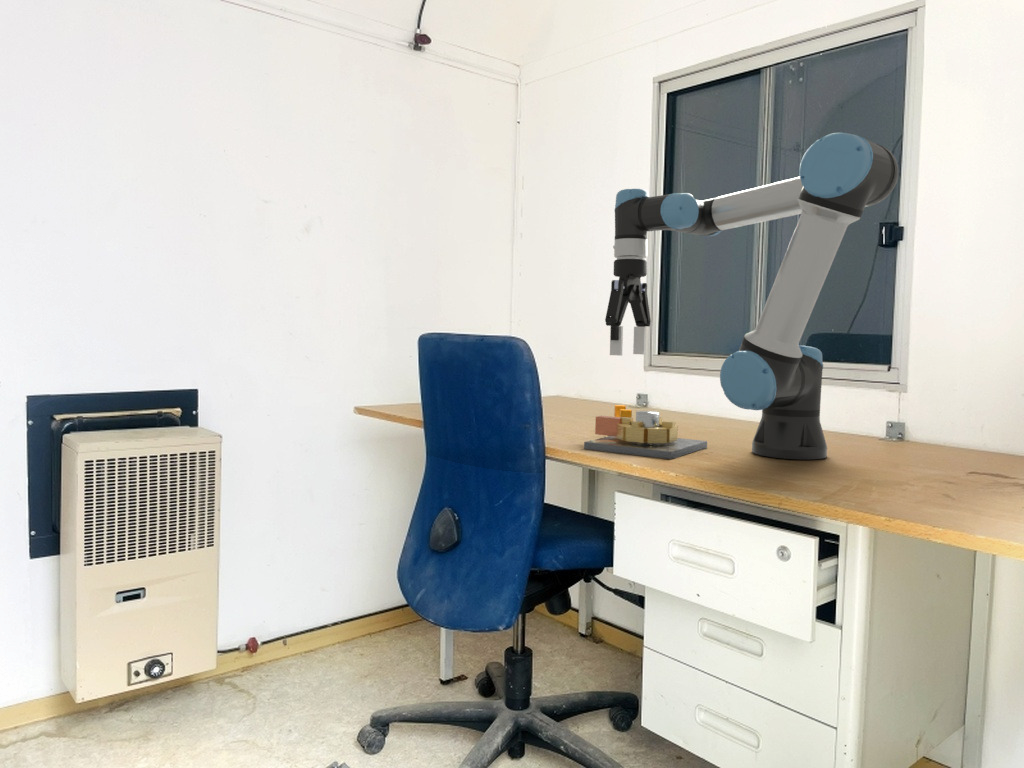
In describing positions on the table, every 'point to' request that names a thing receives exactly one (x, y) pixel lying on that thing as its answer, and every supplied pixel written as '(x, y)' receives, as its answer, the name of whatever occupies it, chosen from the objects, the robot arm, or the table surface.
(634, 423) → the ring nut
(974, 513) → the table surface
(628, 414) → the pipe clamp
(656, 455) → the flange plate
